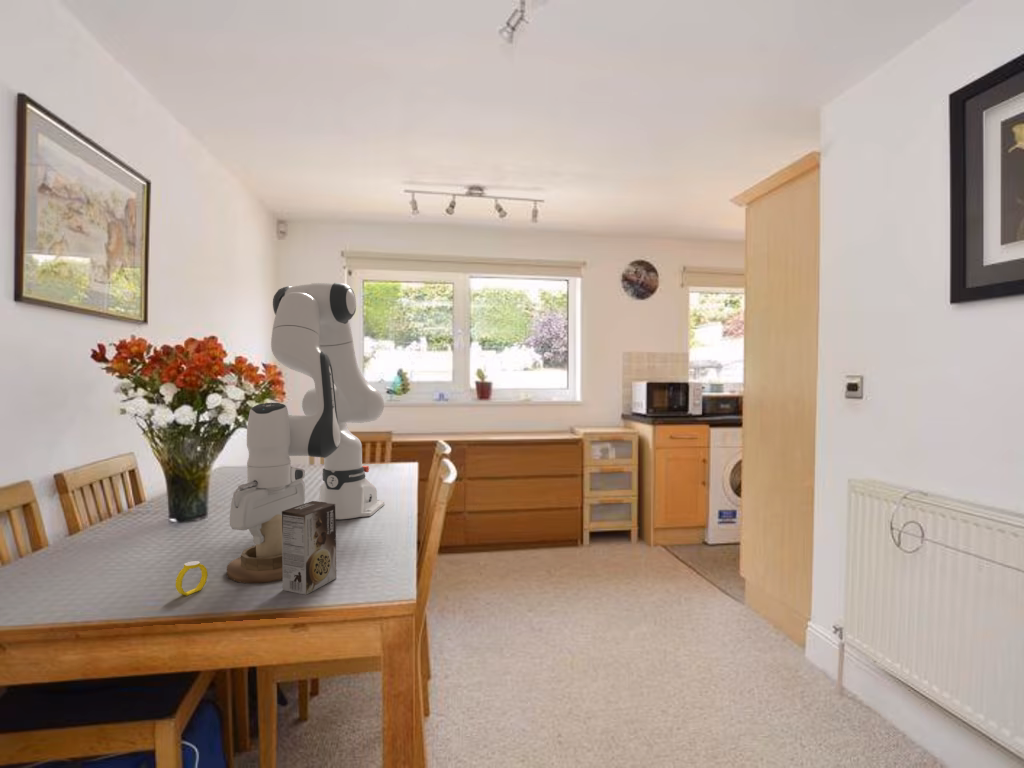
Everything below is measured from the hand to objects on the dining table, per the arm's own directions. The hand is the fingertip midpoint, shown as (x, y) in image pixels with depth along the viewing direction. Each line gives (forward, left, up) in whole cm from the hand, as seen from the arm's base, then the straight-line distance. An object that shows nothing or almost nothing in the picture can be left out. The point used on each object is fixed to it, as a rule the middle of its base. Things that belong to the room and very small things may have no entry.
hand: (269, 538), depth 119 cm
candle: (0, 0, -4) cm, 4 cm away
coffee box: (+6, +14, -7) cm, 17 cm away
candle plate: (0, 0, -7) cm, 7 cm away
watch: (+15, -6, -7) cm, 18 cm away
